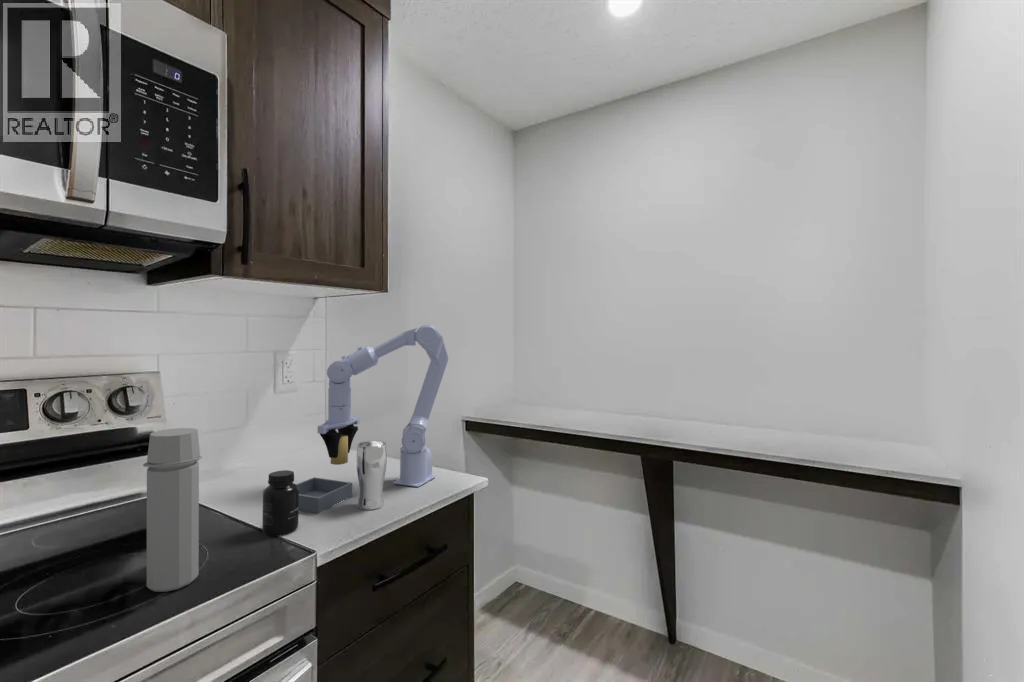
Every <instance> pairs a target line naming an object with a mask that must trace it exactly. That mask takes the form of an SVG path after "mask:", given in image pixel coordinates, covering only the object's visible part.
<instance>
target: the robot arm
mask: <svg viewBox="0 0 1024 682" xmlns="http://www.w3.org/2000/svg"><path fill="white" fill-rule="evenodd" d="M416 342H417V343H416ZM416 344H418V345H419V346H421V348H422V349H424V351H425V352H426V354H427V356H428V357H429V359H430V362H429V365H428V368H427V371H426V374H425V377H424V379H423V383H422V385H421V387H420V388H421V389H420V391H419V395H418V397H417V401H416V404H415V406H414V409H413V413H412V415H411V417H410V420H409V422H408V424H407V425H405V427H404V428H403V431H402V438H401V445H402V447H400V451H399V453H400V455H399V456H400V457H399V459H400V460H399V464H400V465H399V467H400V468H399V479H397V480H394V481H393V484H394V485H401V486H407V487H413V488H419V487H421V486H423V485H425V484H426V483H428V482H429V481H431V480H432V479H435V477H436V476H435V475H433V454H432V453H433V452H431V449H430V448H428V447H427V446H426V445H425V444H426V431H427V427H428V423H429V418H430V415H431V413H432V409H433V407H434V404H435V401H436V397H437V394H438V392H439V389H440V387H441V382H442V379H443V377H444V374H445V372H446V371H445V370H446V368H447V364H448V362H449V356H448V352H447V348H446V344H445V343H444V338H443V335H442V334H441V333H440V331H439V330H438V328H437V327H435V326H434V325H432V324H429V323H428V324H424V325H421V326H420V327H418V328H417V327H415V328H413V329H409V330H406V331H404V332H401V333H399V334H398V335H396V336H394V337H392V338H390V339H388V340H386V341H385V342H382V343H381V344H378V345H376V346H375V347H371V346H364V347H363V346H359V347H357V350H356V351H354V352H353V353H350V354H348V355H342V356H341V357H340V358H341V360H335V361H333V362H331V364H329V366H328V368H327V369H326V375H327V377H328V379H329V380H328V390H327V391H328V395H327V396H328V397H327V398H328V402H327V403H328V407H327V408H328V411H327V412H328V414H327V415H328V416H327V417H328V418H327V420H325V422H324V423H322V424H320V425H317V434H319V436H320V437H321V439H322V440H323V442H324V444H325V446H326V450H327V454H328V457H329V458H330V459H331V458H337V456H338V446H339V441H340V437H341V435H347V436H348V454H349V453H350V451H351V448H352V443H353V440H354V438H355V435H356V433H357V432H358V431H359V426H356V425H359V424H360V416H351V414H352V413H351V412H352V409H351V408H352V406H351V404H352V388H351V377H352V376H357V375H359V374H361V373H364V372H366V371H367V370H369V369H371V368H373V367H375V366H377V365H378V362H379V359H380V358H381V357H384V356H385V355H388V354H390V353H392V352H394V351H396V350H398V349H400V348H403V347H405V346H416Z"/></svg>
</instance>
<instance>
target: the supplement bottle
mask: <svg viewBox="0 0 1024 682" xmlns="http://www.w3.org/2000/svg"><path fill="white" fill-rule="evenodd" d="M294 482H295V473H294V471H292V470H290V469H289V470H286V469H285V470H276V471H273V472H270V473H269V474H268V480H267V484H268V486H267V487H265V488H264V489H263V492H262V519H261V520H262V523H261V525H262V533H263V534H264V535H266V536H270V537H271V536H272V537H278V536H279V537H280V536H284V534H285V535H289V534H291V533H293V532H295V531H296V530H297V529H298V527H299V512H300V510H299V488H298V486H297V485H296V484H297V483H294ZM288 533H289V534H288Z"/></svg>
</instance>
